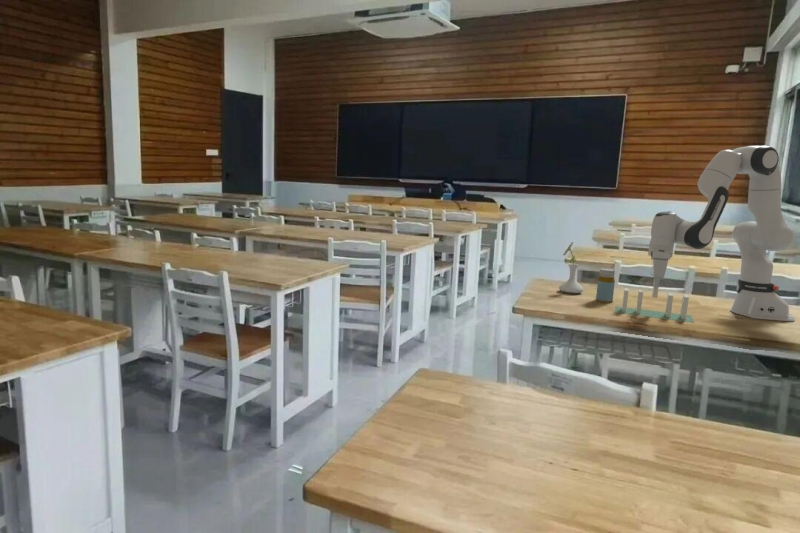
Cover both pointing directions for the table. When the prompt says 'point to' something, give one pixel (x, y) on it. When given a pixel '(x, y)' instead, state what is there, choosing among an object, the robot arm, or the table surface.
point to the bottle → (605, 285)
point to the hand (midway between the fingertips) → (656, 285)
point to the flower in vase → (571, 277)
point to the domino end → (625, 299)
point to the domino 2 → (655, 291)
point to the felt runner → (654, 314)
